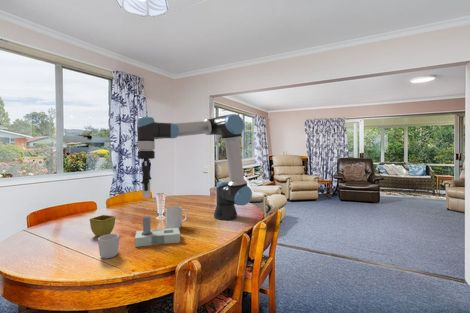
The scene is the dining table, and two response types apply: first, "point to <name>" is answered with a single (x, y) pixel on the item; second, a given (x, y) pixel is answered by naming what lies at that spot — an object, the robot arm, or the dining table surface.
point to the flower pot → (102, 224)
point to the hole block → (157, 237)
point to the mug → (174, 217)
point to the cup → (108, 245)
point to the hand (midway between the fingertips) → (146, 195)
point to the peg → (146, 225)
